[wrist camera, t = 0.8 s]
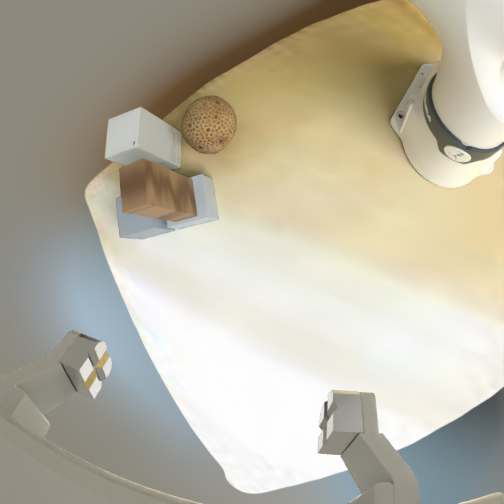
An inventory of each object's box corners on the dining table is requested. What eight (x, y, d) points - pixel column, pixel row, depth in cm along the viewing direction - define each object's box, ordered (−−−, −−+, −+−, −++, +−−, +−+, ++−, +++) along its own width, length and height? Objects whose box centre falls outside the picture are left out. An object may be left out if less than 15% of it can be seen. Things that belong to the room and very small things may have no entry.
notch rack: (218, 219, 50) (200, 214, 44) (142, 239, 55) (119, 237, 49) (212, 179, 50) (194, 169, 44) (138, 203, 55) (115, 198, 49)
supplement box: (182, 131, 52) (142, 105, 40) (181, 168, 52) (138, 148, 40) (150, 139, 55) (107, 118, 43) (148, 175, 55) (103, 159, 43)
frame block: (197, 216, 47) (146, 204, 34) (175, 222, 48) (122, 212, 36) (192, 179, 47) (143, 158, 35) (171, 186, 48) (119, 168, 36)
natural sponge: (244, 160, 49) (219, 140, 39) (196, 161, 51) (165, 144, 42) (248, 111, 49) (227, 83, 39) (202, 115, 51) (174, 92, 42)
